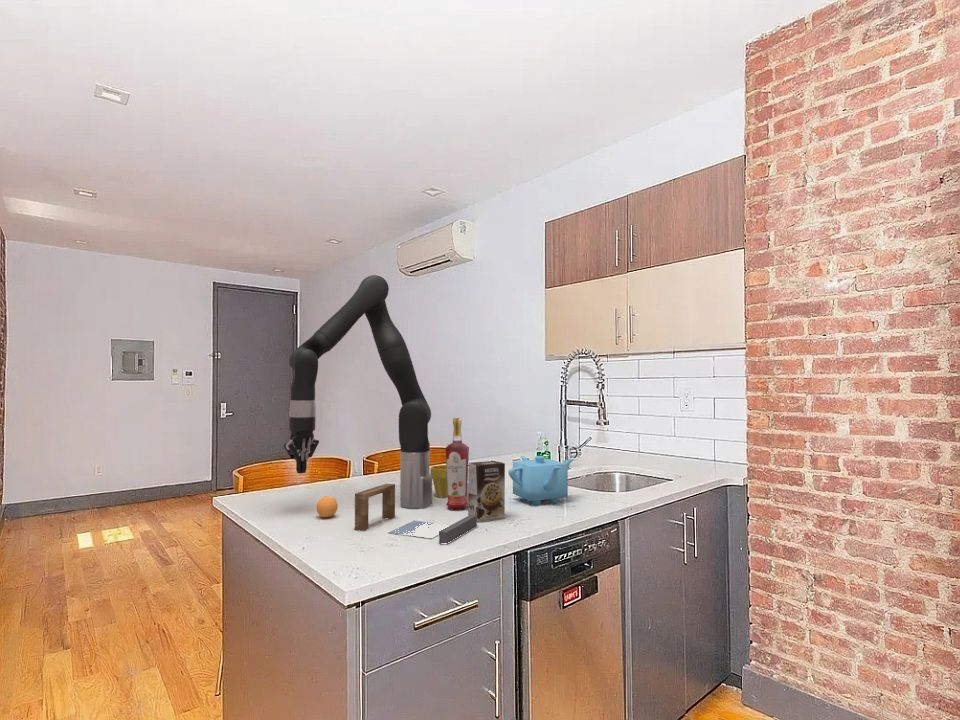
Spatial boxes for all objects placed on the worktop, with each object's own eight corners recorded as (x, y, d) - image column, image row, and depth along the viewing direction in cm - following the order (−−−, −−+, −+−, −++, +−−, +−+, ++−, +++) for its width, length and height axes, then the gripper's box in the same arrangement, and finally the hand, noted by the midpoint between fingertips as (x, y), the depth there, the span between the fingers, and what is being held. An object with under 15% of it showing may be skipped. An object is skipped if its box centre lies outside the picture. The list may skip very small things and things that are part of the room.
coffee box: (477, 522, 157) (477, 465, 157) (467, 517, 162) (467, 462, 163) (505, 519, 161) (505, 462, 161) (494, 514, 166) (494, 459, 167)
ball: (341, 515, 164) (341, 495, 164) (328, 520, 159) (328, 499, 159) (325, 513, 167) (325, 493, 167) (311, 518, 161) (312, 497, 161)
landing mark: (454, 526, 153) (454, 525, 153) (431, 539, 141) (431, 538, 141) (413, 521, 158) (413, 520, 158) (388, 533, 146) (388, 532, 146)
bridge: (394, 517, 162) (395, 484, 162) (363, 531, 148) (364, 494, 148) (386, 516, 163) (386, 483, 163) (354, 529, 150) (354, 493, 150)
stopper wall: (476, 526, 153) (476, 515, 153) (446, 544, 136) (446, 532, 137) (470, 525, 154) (470, 514, 154) (439, 543, 137) (439, 531, 137)
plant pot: (439, 491, 199) (439, 463, 199) (465, 493, 194) (465, 465, 195) (424, 496, 189) (424, 468, 190) (451, 499, 185) (451, 470, 185)
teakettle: (505, 505, 178) (504, 458, 178) (521, 492, 196) (521, 450, 196) (563, 510, 171) (563, 462, 172) (575, 497, 189) (574, 453, 189)
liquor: (471, 506, 176) (471, 417, 177) (465, 511, 169) (465, 419, 169) (449, 505, 178) (449, 417, 178) (442, 510, 170) (442, 418, 171)
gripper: (296, 417, 160) (295, 477, 160) (327, 414, 172) (326, 470, 172) (276, 416, 163) (275, 475, 163) (308, 413, 175) (307, 468, 175)
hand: (301, 472), depth 167 cm, fingers closed
